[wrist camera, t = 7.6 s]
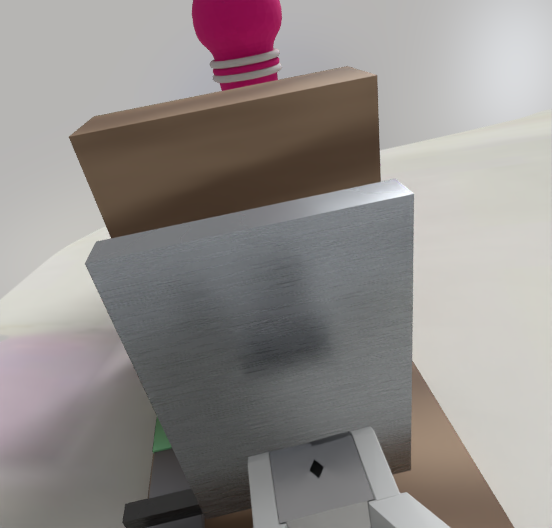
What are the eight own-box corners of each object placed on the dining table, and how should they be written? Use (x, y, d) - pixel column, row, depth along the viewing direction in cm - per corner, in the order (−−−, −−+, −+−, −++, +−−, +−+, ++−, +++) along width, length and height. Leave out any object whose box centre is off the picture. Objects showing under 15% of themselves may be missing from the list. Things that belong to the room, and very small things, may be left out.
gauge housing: (511, 546, 13) (617, 147, 7) (142, 638, 13) (-143, 308, 6) (362, 289, 26) (347, 66, 19) (174, 331, 26) (93, 116, 19)
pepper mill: (333, 218, 35) (304, -78, 25) (272, 255, 32) (208, -74, 21) (277, 202, 40) (233, -51, 30) (218, 232, 37) (145, -44, 26)
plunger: (410, 470, 14) (413, 193, 9) (127, 538, 14) (-43, 291, 8) (324, 280, 24) (302, 102, 19) (162, 316, 24) (94, 143, 19)
